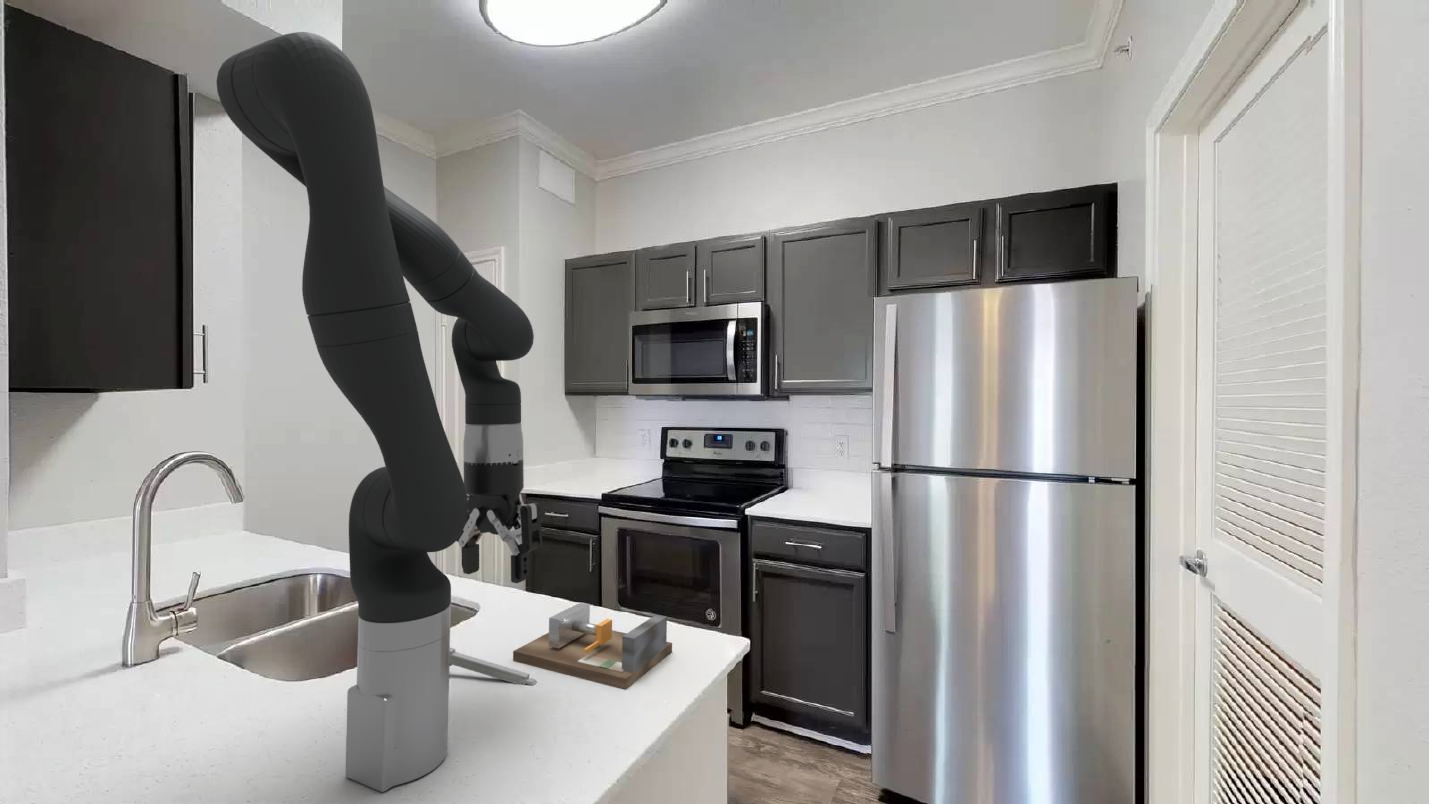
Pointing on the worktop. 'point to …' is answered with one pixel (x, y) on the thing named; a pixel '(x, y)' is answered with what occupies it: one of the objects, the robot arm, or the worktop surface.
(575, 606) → the plunger
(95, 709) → the worktop surface
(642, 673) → the gauge board
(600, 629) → the orange paddle
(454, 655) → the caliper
